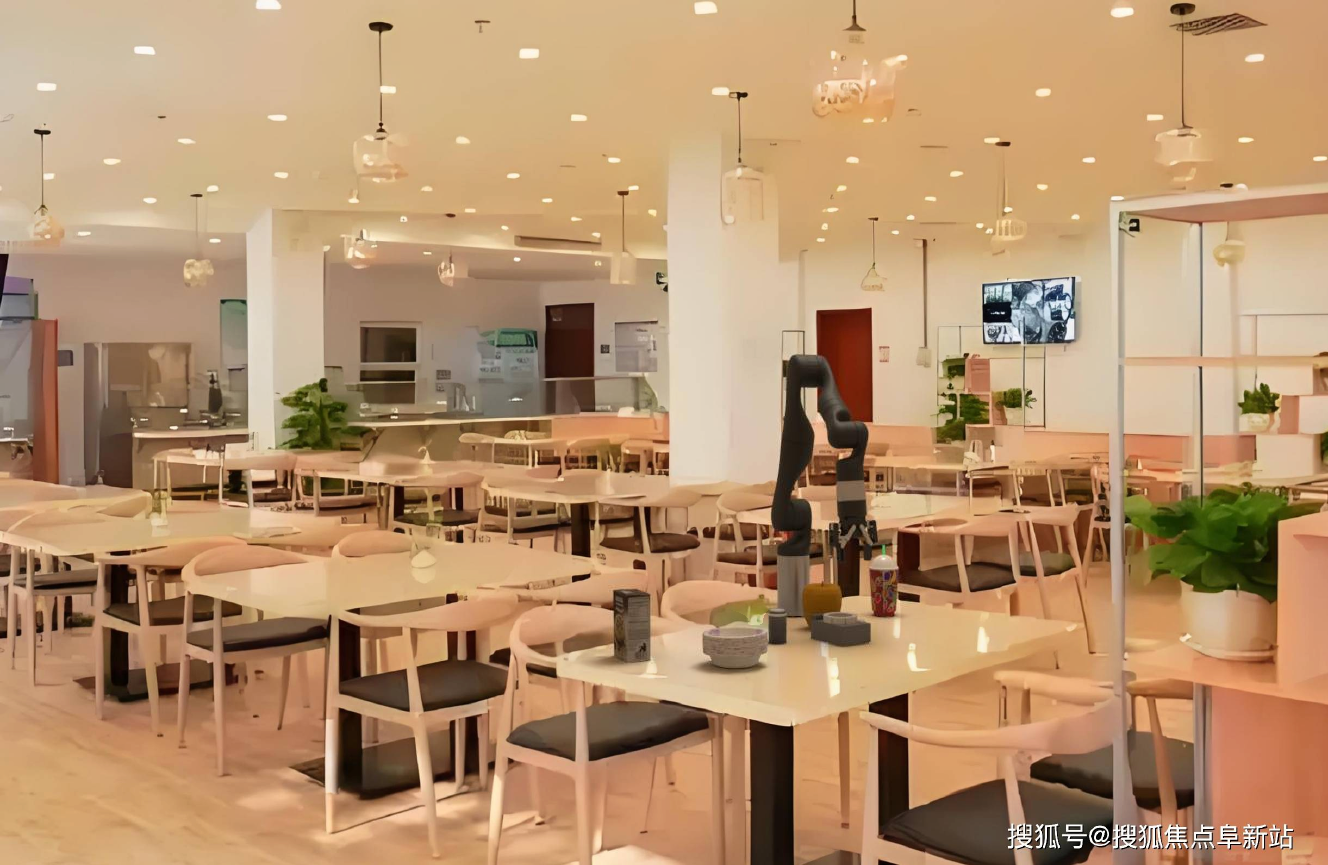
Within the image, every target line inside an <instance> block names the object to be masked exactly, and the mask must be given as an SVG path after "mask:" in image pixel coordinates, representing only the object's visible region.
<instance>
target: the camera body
mask: <svg viewBox="0 0 1328 865" xmlns="http://www.w3.org/2000/svg"><path fill="white" fill-rule="evenodd" d="M858 615H859V614H857V613H854V612H853V613H852V612H845V611H843V612H842V611H840V612H839V611H837V612H829V613H820V614H812V615H811V628H810V639H812V640H815V641H818V640H819V641H820V642H822V641H823V643H826V642H828V643H827V644H830V645H835V646H838V647H842V648H843V647H844V646H845V647H852V646H859V645H858V644H860V645H864V644H865V643H867V644H870V643H869V642H872V640H871V639H872V637H871V633H872V630H871V626H872V624H871V622H867V621H866V619H864V618H859V619H858ZM819 641H818V642H819Z"/></svg>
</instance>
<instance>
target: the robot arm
mask: <svg viewBox="0 0 1328 865" xmlns="http://www.w3.org/2000/svg"><path fill="white" fill-rule="evenodd" d="M787 362H788V363H787V367H786V381H785V382H786V384H785V407H784V408H785V409H784V418H783V426H782V433H781V440H780V441H781V442H780V449H779V463H778V471H777V477H776V484H775V488H774V492H773V497H772V503H771V508H770V521H771V522H770V523H771V526H772V528H773V529H774V530H775V531H776V532H784V533H785V532H792V534H791V536H790V537H789V538H788V539H786V540H784V541H782V542H780V543H778V545H777V546H776V569H777V570H776V571H777V575H776V577H777V578H776V579H777V580H776V583H777V584H776V586H777V587H776V588H777V590H776V591H777V595H776V596H777V599H776V600H777V602H776V603H777V606H776V607H777V608H776V609H784V610H785V611H787V616H802V617H805V616H804V612H803V607H802V592H803V589H804V587H805V586H806V585H808V584H811V582H810V576H811V575H810V574H811V572H810V570H811V569H810V548H811V545H812V544H811V543H812V528H813V527H812V526H813V524H812V523H813V511H812V507H811V504H810V501H808V500H807V499H805V498H792V494H793V490H794V487H795V485H796V483H797V481H798V480H799V478H800V477H801V475H802V474H803V473H804V472H805V470H806V468H807V467H808V466H809V464H810V462H811V460H812V458H813V455H814V445H815V437H816V436H815V430H814V427H813V426H812V424H811V422H810V419H809V418H808V416H807V414H806V412H805V410H804V406H803V403H802V393H801V392H802V389H803V388H804V389H806V388H807V389H820V390H821V392H820V394H819V396H818V400H817V411H818V413H819V415H820V417H821V419H822V420H823V422H824V423H825V428H826V433H827V434H826V435H827V442H828V444H829V445H830V447H832V448H833V449H836V450H843V449H844V450H845V449H846V450H847V449H852V451H851V453H850V454H849V456H846V457H843V458H839V459H837V461H836V462H835V470H836V472H835V473H836V475H835V476H836V491H835V493H836V507H837V508H836V510H837V511H836V512H837V517H838V519H839V522H829V524H828V545H829V546H830V547H834V548H835V550H836V553H835V554H836V560H837V563H838V564H846V561H847V560H846V548H845V546H846V544H847V542H849V541H850V539H858V540H859V541H860V542H861V543H862V545H863V547H862V551H863V561H865V562H869V561H871V562H872V558H873V548H872V547H873V545H874V544H876V543H878V542H879V539H878V527H877V521H876V519H867V518H866V517H867V516H868V509H867V507H868V506H867V493H866V492H867V490H866V484H865V472H864V469H865V468H864V463H865V457H866V451H867V446H868V443H869V436H870V434H869V429H868V426H867V425H866V424H865V423H864V422H863V421H861V420H853V421H852V415H851V411H850V410H849V409H848V406H846V404H845V402H844V400H843V399H842V397H841V395H840V392H839V390H838V385H837V384H836V381H835V377H834V374H833V371H832V368H831V365H830V363H829V361H828V360H827V358H826V357H825V356H823V355H819V354H801V353H800V354H797V353H796V354H793V355H791V356H790V357H789V360H788V361H787Z"/></svg>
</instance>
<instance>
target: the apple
mask: <svg viewBox="0 0 1328 865" xmlns="http://www.w3.org/2000/svg"><path fill="white" fill-rule="evenodd" d="M842 604H843V594H842V590H841V586H840V585H838V584H836V583H832V582H824V581H823V580H822V581H821V582H818V583H817V582H814V583H813V582H812V583H810V584H808V585H806V586H805V587H804V589H803V592H802V607H803V612H804V616H803V617H804V620H805V622H806V623H807V625H808V626H807V627H808V628H810V629H811V615H812V614H820V613H829V612H837V611H839V612H841V609H842V607H843V606H842Z"/></svg>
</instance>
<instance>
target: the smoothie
mask: <svg viewBox="0 0 1328 865" xmlns="http://www.w3.org/2000/svg"><path fill="white" fill-rule="evenodd" d="M885 546H886V545H885V544H882V554H879V555H877V556H876V557H874V558H873V559H872V560H871V563H870V565H869V566H868V572H869V573H868V574H869V584H870V585H869V586H870V601H871V602H870V603H871V611H872V613H873V615H874V616H875V615H876V617H880V616H890V617H893V616H895V612H896V611H897V602H898V600H897V599H898V584H899V569H900V567H899V566H898V564H897V562H896V560H895V559H894V557H892V556H890V555H887V554H886V547H885Z"/></svg>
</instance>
